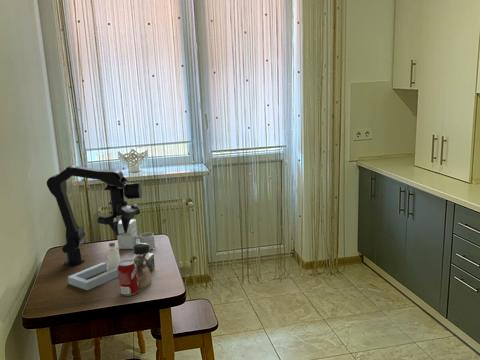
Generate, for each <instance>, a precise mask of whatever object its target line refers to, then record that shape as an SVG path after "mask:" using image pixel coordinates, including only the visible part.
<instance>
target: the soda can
mask: <svg viewBox="0 0 480 360" xmlns="http://www.w3.org/2000/svg"><path fill="white" fill-rule="evenodd" d="M117 269H118V277H117V278H118V285H119V292H120V294H121V295H123V296H126V297H129V296H134V295H135V294H137V293H138V292H139V291H140V288H139V286H138V277H137V268H136V264H135V263H134V261H133V260H131V259H124V260H120V262H119V266H118V268H117Z"/></svg>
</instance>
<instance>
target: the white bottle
mask: <svg viewBox="0 0 480 360" xmlns="http://www.w3.org/2000/svg"><path fill="white" fill-rule="evenodd" d="M108 246H109V249H107V250H106V257H107V263H108V265H107V266H108V271H110V270H112V269H115V268H117V267H118V266H119V262H121V259H120V258H121V257H120V249H119V248H118V247H117V248H116V242H110V243H108Z"/></svg>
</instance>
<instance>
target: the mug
mask: <svg viewBox="0 0 480 360" xmlns="http://www.w3.org/2000/svg"><path fill="white" fill-rule="evenodd" d="M136 239H139V243H146V244H148V245H149V250H150V251H152V250H151V249H153V248H156V242H155V233H153V232H143V233H140V234H139V235H137V236H136V237H134V245H136ZM153 250H154V249H153Z"/></svg>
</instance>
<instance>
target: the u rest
mask: <svg viewBox="0 0 480 360" xmlns="http://www.w3.org/2000/svg"><path fill="white" fill-rule="evenodd" d="M107 266H108V265H107V263H106V262H104V261H103V262H101V263H97V264H96V265H93V266H91V267H88V268H86V269H85V268H84V270H80V271H79V272H75V273H74V274H70V275H69V276H67V281H68V282H67V283H68V284H69V285H70V286H74V287H76V288H78V289H82V290H86V291H90V290H92V289H95V288H96V287H98V286H101V285H103V284H105V283H107V282H110V281H112V280H114V279H116V278H118V269H117V268H118V267H117V268H115V269H112V270H110V271H109V270H108V267H107ZM105 271H106V272H105ZM102 272H104V273H102ZM91 277H92V278H91Z"/></svg>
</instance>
